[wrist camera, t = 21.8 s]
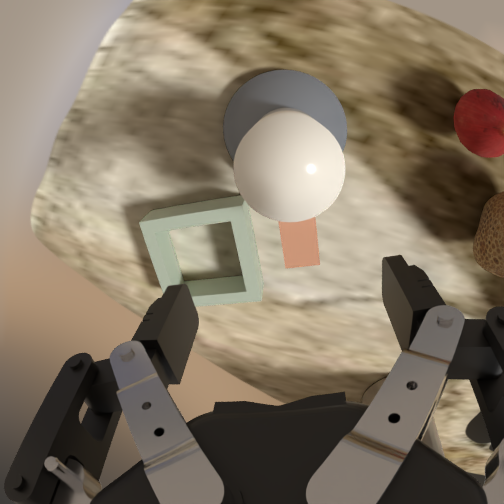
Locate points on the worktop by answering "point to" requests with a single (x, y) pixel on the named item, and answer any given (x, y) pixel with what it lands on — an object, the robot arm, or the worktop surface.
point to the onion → (481, 122)
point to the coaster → (282, 104)
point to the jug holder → (197, 215)
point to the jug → (290, 177)
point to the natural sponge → (491, 236)
